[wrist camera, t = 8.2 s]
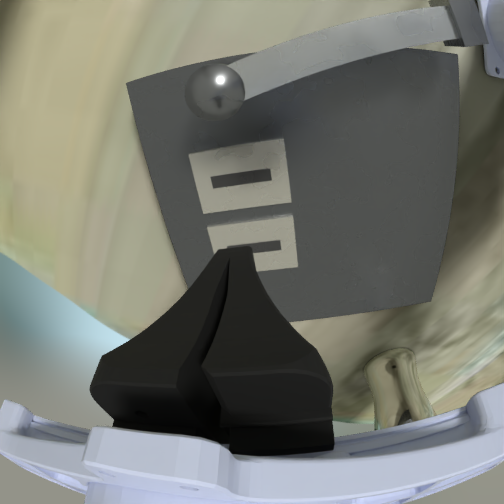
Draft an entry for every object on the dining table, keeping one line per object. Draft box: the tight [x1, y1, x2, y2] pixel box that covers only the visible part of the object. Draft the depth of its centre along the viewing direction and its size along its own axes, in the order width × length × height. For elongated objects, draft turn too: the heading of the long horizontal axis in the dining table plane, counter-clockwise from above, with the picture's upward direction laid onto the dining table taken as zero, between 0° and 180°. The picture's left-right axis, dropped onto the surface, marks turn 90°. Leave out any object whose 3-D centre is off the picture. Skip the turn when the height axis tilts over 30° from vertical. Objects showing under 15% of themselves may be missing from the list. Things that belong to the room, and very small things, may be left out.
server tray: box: [126, 48, 460, 322], centre depth 18 cm, size 18×18×4 cm
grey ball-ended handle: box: [184, 0, 489, 121], centre depth 10 cm, size 14×2×2 cm, turn 114°
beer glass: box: [364, 348, 436, 431], centre depth 24 cm, size 7×7×15 cm
